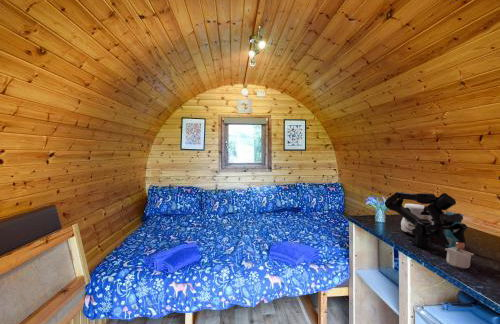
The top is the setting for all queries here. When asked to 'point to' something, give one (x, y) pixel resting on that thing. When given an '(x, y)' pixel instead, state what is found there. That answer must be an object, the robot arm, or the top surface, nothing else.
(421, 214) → the milk container
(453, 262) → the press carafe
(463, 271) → the top surface
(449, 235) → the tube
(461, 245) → the plunger
